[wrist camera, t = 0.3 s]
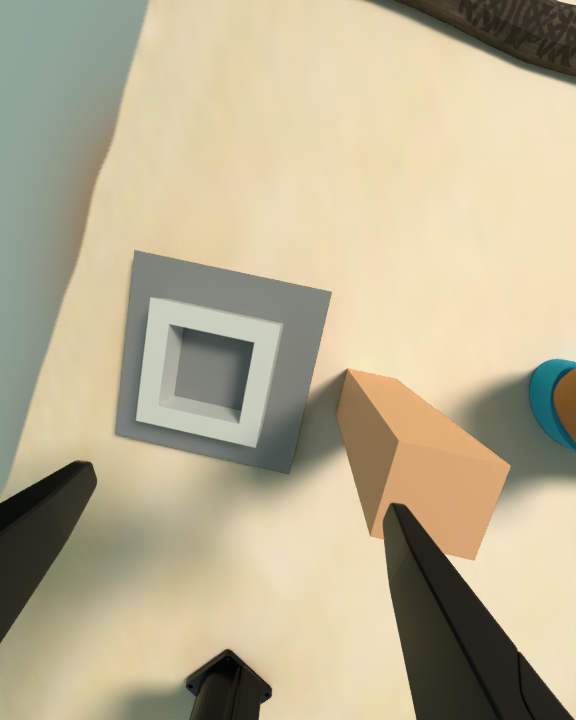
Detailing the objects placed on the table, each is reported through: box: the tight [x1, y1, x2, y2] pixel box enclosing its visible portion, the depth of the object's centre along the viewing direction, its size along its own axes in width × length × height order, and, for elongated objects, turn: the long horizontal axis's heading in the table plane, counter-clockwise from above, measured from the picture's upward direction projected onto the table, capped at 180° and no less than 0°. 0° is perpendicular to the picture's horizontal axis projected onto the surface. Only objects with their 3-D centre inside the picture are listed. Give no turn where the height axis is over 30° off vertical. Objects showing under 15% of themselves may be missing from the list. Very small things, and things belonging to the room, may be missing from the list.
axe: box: [395, 0, 576, 76], centre depth 19 cm, size 11×3×30 cm
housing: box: [115, 250, 332, 474], centre depth 22 cm, size 15×15×4 cm
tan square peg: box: [336, 369, 511, 560], centre depth 17 cm, size 4×4×13 cm
